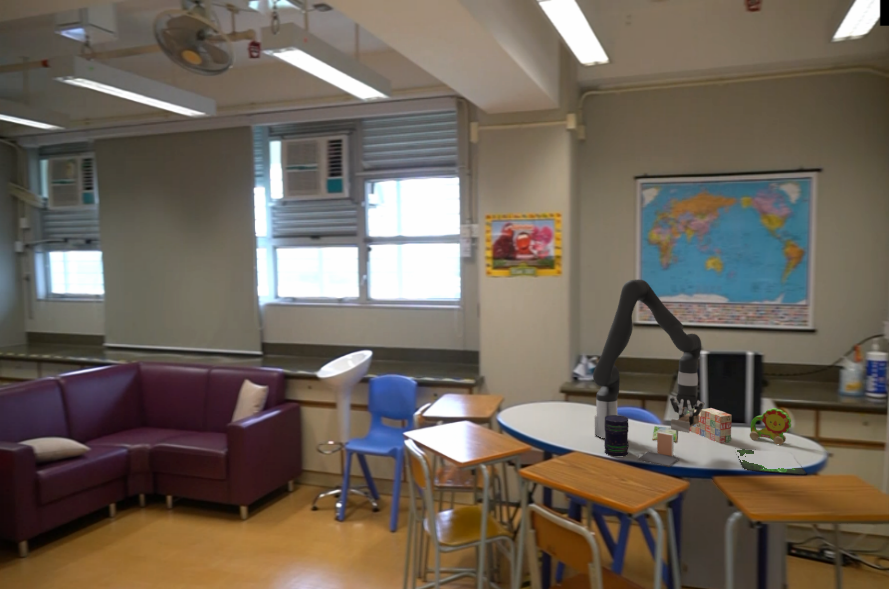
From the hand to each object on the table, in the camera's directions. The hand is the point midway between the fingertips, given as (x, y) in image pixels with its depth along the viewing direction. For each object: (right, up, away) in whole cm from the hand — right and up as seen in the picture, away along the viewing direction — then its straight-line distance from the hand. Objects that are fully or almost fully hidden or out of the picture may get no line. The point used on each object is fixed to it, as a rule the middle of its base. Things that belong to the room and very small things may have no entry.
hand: (686, 423), depth 249 cm
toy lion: (+44, -12, +17) cm, 48 cm away
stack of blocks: (+21, -12, +28) cm, 37 cm away
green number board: (+2, -12, +30) cm, 33 cm away
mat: (-12, -14, -1) cm, 19 cm away
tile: (-7, -14, +4) cm, 16 cm away
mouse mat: (+30, -14, -6) cm, 34 cm away
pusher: (+1, -1, +2) cm, 2 cm away
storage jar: (-27, -14, +8) cm, 31 cm away
